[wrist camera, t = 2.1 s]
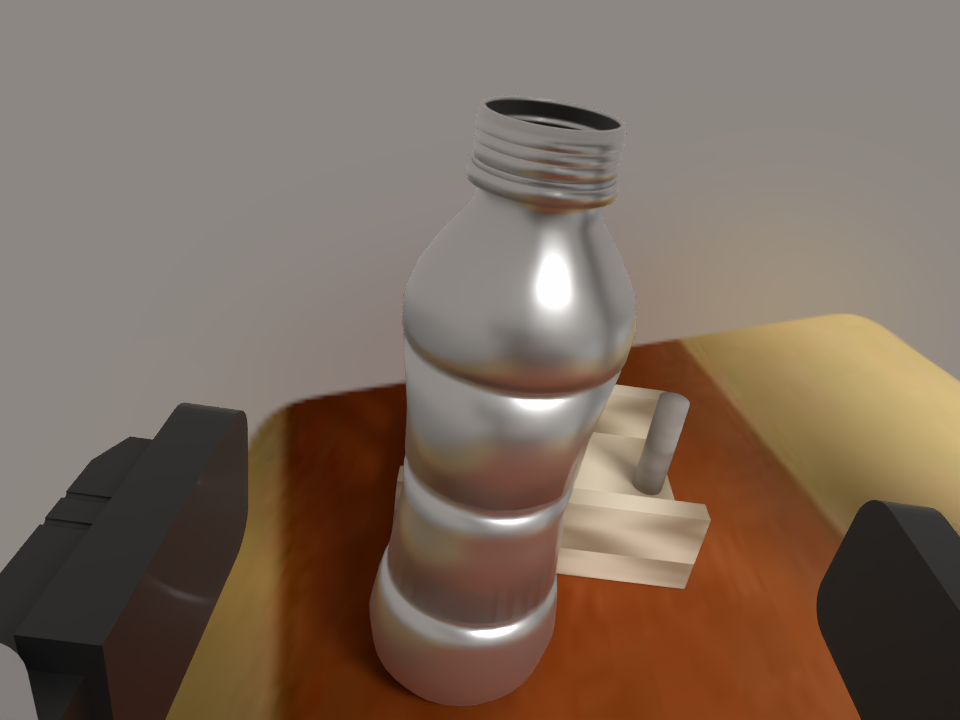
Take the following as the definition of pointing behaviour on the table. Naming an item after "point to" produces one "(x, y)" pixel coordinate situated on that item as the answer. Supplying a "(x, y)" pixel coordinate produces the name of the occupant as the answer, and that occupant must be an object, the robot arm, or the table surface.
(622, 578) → the caddy
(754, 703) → the table surface
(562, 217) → the plastic bottle
